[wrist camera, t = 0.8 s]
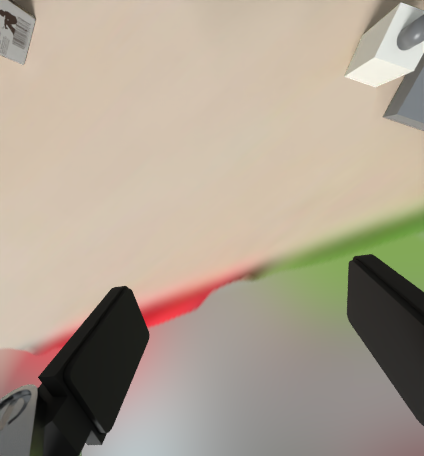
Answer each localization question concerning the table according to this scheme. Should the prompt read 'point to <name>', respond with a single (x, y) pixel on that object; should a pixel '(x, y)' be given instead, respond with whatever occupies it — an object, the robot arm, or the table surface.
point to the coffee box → (15, 31)
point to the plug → (389, 47)
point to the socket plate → (409, 99)
